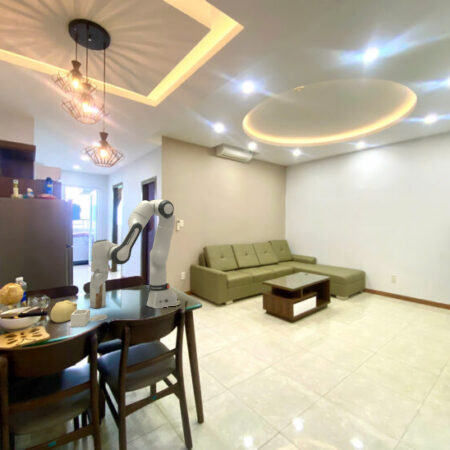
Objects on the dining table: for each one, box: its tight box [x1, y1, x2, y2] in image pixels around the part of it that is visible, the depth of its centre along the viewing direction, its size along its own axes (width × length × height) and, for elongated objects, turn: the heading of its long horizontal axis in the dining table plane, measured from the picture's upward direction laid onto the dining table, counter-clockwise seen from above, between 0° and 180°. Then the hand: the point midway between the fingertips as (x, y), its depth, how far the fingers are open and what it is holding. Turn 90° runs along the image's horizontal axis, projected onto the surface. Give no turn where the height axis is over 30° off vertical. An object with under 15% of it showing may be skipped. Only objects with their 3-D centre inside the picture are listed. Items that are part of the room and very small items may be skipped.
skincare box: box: [89, 282, 107, 310], centre depth 158 cm, size 8×7×16 cm
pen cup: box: [70, 309, 91, 328], centre depth 130 cm, size 7×7×7 cm
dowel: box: [94, 284, 103, 310], centre depth 138 cm, size 3×3×15 cm
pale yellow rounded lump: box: [50, 299, 78, 324], centre depth 135 cm, size 12×12×11 cm
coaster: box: [90, 314, 108, 322], centre depth 139 cm, size 9×9×1 cm
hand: (99, 291), depth 138 cm, fingers closed on dowel, 3 cm apart
